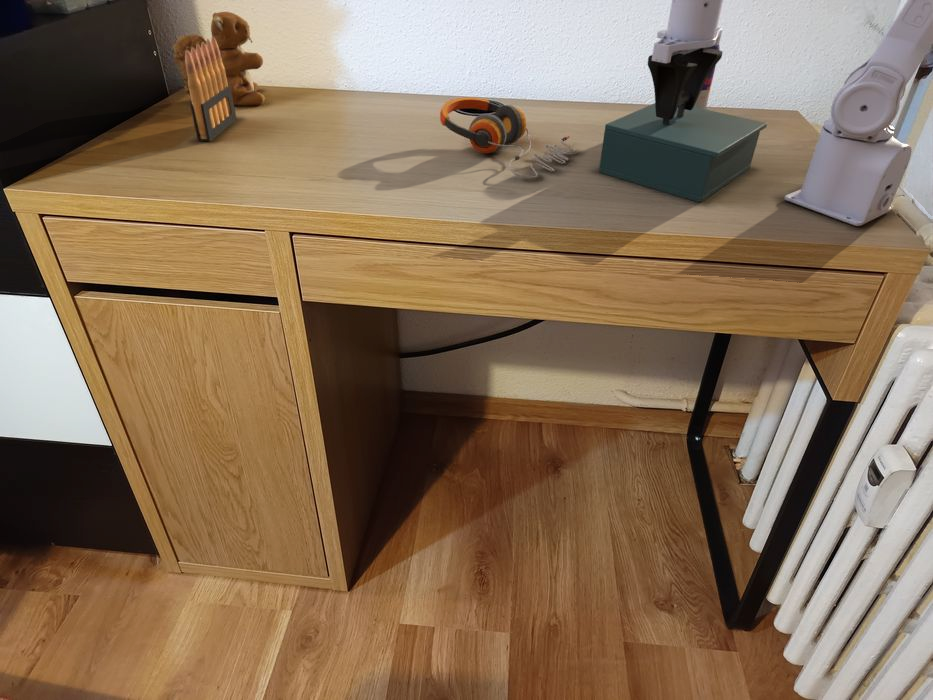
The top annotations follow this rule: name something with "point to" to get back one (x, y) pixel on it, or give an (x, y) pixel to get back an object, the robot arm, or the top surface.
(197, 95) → the ammunition clip
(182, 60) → the stuffed squirrel
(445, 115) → the headphones
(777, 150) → the top surface
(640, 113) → the bin lid
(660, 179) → the bin
